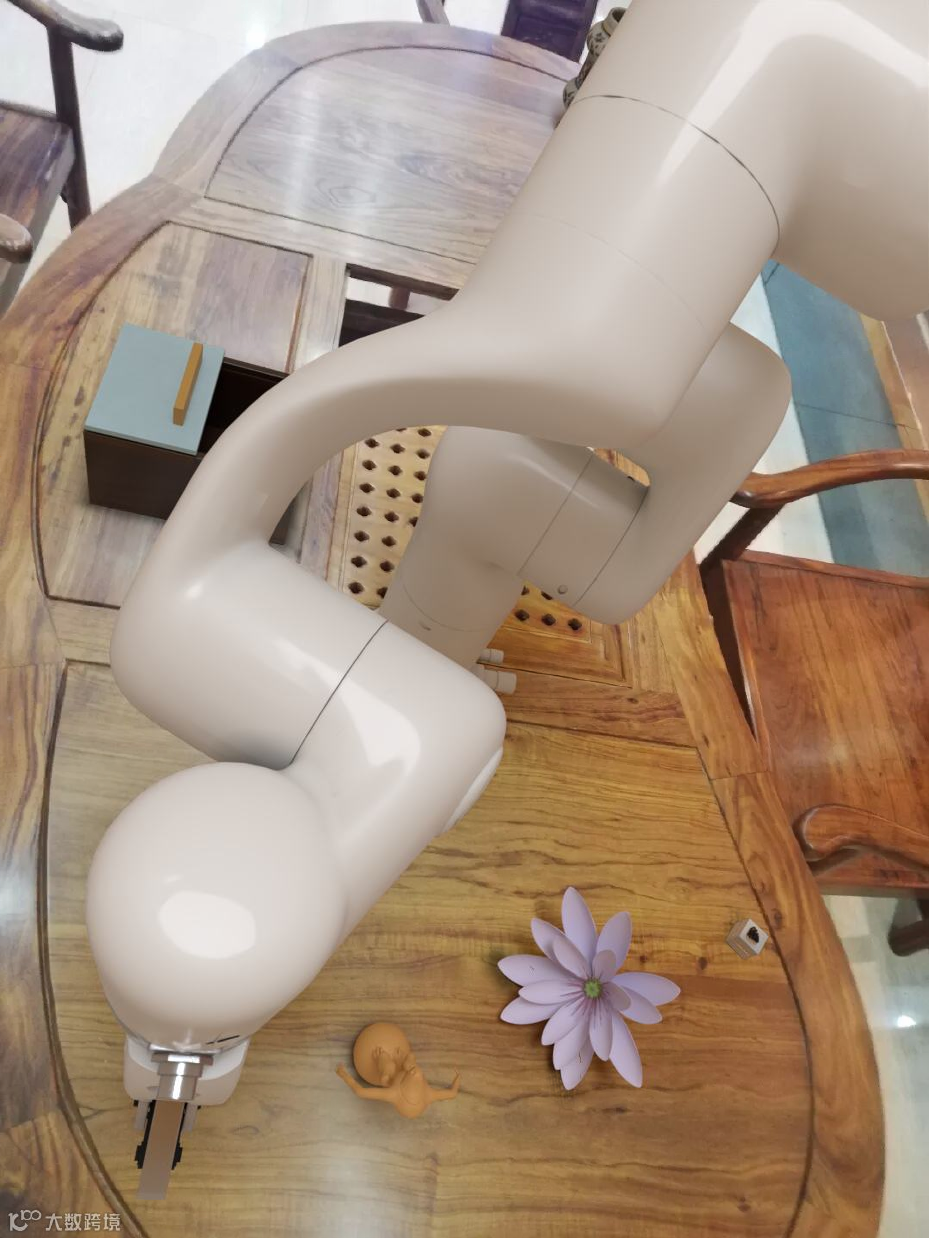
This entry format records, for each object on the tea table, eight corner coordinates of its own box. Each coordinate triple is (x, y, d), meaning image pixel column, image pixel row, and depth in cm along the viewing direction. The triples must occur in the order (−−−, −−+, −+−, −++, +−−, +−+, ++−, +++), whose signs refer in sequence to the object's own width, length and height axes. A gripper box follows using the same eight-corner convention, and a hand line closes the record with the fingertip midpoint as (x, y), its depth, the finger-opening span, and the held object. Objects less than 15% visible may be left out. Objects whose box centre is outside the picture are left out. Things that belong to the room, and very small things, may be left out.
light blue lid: (196, 456, 70) (197, 435, 68) (84, 429, 68) (82, 407, 66) (224, 353, 77) (227, 331, 74) (124, 327, 74) (123, 303, 72)
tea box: (283, 545, 80) (298, 482, 72) (89, 503, 76) (82, 431, 68) (302, 448, 87) (317, 380, 79) (124, 404, 82) (122, 329, 75)
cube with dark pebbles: (724, 941, 74) (740, 935, 72) (735, 923, 75) (751, 916, 73) (743, 959, 73) (760, 954, 71) (753, 940, 75) (770, 935, 73)
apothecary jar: (627, 149, 141) (682, 35, 126) (598, 172, 134) (653, 55, 119) (569, 109, 142) (617, -8, 127) (536, 130, 135) (584, 9, 120)
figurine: (431, 1026, 63) (483, 1008, 53) (429, 1120, 60) (484, 1119, 50) (321, 1022, 61) (354, 1002, 51) (312, 1118, 57) (346, 1117, 48)
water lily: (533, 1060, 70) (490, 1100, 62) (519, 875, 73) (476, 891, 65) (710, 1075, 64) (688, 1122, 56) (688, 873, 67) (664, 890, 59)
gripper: (262, 1219, 29) (225, 1190, 43) (325, 760, 39) (277, 857, 53) (33, 1214, 28) (71, 1186, 41) (156, 733, 37) (153, 842, 51)
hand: (186, 1002), depth 47 cm, fingers open, 9 cm apart
